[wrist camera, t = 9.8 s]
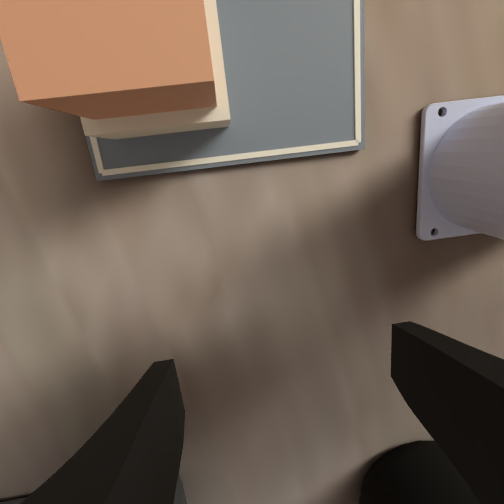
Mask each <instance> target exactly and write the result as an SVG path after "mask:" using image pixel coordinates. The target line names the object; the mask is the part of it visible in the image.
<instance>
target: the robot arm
mask: <svg viewBox="0 0 504 504" xmlns="http://www.w3.org/2000/svg"><path fill="white" fill-rule="evenodd" d="M440 108H441V109H442V115H441V116H439V115H438V110H439V109H440ZM432 229H435V231H434V233H433V234H431V230H432ZM479 233H483V234H486V235H489V236H492V237H496V238H499V239H502V240H504V95H502V96H493V97H485V98H476V99H467V100H458V101H450V102H441V103H433V104H429V105H427V106H426V107H424V109H423V111H422V117H421V138H420V159H419V181H418V202H417V224H416V236H417V237H418V238H419V239H421V240H423V241H428V240H435V239H442V238H449V237H457V236H464V235H471V234H479ZM391 377H392V379H393V381H394V382H395V384H396V386H397V388H398V390H399V391H400V393H401V395H402V396H403V398H404V400H405V401H406V403H407V405H408V406H409V407H410V409H411V410H412V411H413V413H414V414H415V415H416V417H417V418H418V419H419V421H420V422H421V423H422V425H423V426H424V427H425V429H426V430H427V431H428V433H429V434H430V435H431V436H432V438H433V439H434V440H435V442H436V443H437V444H438V446H439V447H440V448H441V450H442V451H443V452H444V453H445V455H446V456H447V457H448V459H449V460H450V461H451V463H452V464H453V465H454V467H455V468H456V469H457V471H458V472H459V473H460V475H461V476H462V477H463V479H464V480H465V482H466V483H467V484H468V486H469V487H470V489H471V490H472V492H473V493H474V495H475V497H476V498H477V500H478V501H479V503H480V504H504V359H501V358H498V357H496V356H493V355H491V354H488V353H486V352H483V351H481V350H478V349H476V348H474V347H471V346H469V345H466V344H464V343H462V342H459V341H457V340H455V339H452V338H450V337H448V336H445V335H443V334H441V333H438V332H436V331H434V330H431V329H429V328H426V327H424V326H421V325H419V324H416V323H413V322H410V321H409V322H403V323H397V324H392V348H391ZM184 419H185V410H184V405H183V400H182V396H181V391H180V387H179V382H178V378H177V373H176V369H175V364H174V359H171V360H164V361H158V362H154V363H153V364H152V365H151V367H150V368H149V369H148V370H147V371H146V373H145V374H144V375H143V376H142V378H141V379H140V380H139V382H138V383H137V384H136V385H135V387H134V388H133V389H132V390H131V392H130V393H129V394H128V395H127V397H126V398H125V399H124V400H123V401H122V403H121V404H120V405H119V406H118V408H117V409H116V410H115V411H114V412H113V414H112V415H111V416H110V417H109V418H108V419H107V420H106V421H105V422H104V424H103V425H102V426H101V427H100V428H99V429H98V430H97V431H96V432H95V434H94V435H93V436H92V437H91V438H90V439H89V440H88V441H87V442H86V443H85V444H84V445H83V446H82V447H81V448H80V449H79V450H78V451H77V452H76V453H75V454H74V455H73V456H72V457H71V458H70V459H69V460H68V461H67V462H66V463H65V464H64V465H63V466H62V467H61V468H60V469H59V470H58V471H57V472H56V473H55V474H54V475H52V476H51V477H50V478H49V479H48V480H47V481H46V482H45V483H43V484H42V485H41V486H40V487H39V488H38V489H36V490H35V491H34V492H33V493H32V494H31V495H30V496H28V497H27V498H26V499H25V500H24V501H23V502H21V503H20V504H174V497H175V491H176V485H177V479H178V473H179V467H180V461H181V455H182V448H183V439H184Z"/></svg>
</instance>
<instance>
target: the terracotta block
mask: <svg viewBox="0 0 504 504" xmlns="http://www.w3.org/2000/svg"><path fill="white" fill-rule="evenodd" d="M0 38H1V42H2V45H3V48H4V51H5V55H6V58H7V61H8V65H9V68H10V71H11V74H12V78H13V81H14V84H15V87H16V91H17V94H18V97H19V100H20V101H21V102H25V103H29V104H33V105H36V106H40V107H44V108H48V109H52V110H56V111H60V112H64V113H68V114H72V115H76V116H80V117H84V118H88V119H92V120H98V119H107V118H116V117H125V116H134V115H143V114H152V113H161V112H170V111H179V110H188V109H197V108H206V107H215V106H217V101H216V92H215V83H214V75H213V68H212V60H211V53H210V45H209V38H208V30H207V23H206V15H205V8H204V0H0Z"/></svg>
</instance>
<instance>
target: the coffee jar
mask: <svg viewBox="0 0 504 504" xmlns="http://www.w3.org/2000/svg"><path fill="white" fill-rule="evenodd" d="M359 504H480V503H479V501H478V500H477V498H476V497H475V495H474V493H473V492H472V490H471V489H470V487H469V486H468V484H467V483H466V482H465V480H464V479H463V477H462V476H461V475H460V473H459V472H458V471H457V469H456V468H455V467H454V465H453V464H452V463H451V461H450V460H449V459H448V457H447V456H446V455H445V453H444V452H443V451H442V450H441V448H440V447H439V446H438V444H437V443H436V442H435V441H416V442H413V443H409V444H405V445H401V446H399V447H397V448H395V449H393V450H392V451H390V452H388V453H386V454H385V455H383V456H382V457H381V458H380V459H379V460H378V461H376V462H375V463H374V464H373V465H372V467H371V468H370V470H369V471H368V473H367V474H366V476H365V477H364V481H363V485H362V489H361V496H360V500H359Z"/></svg>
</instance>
